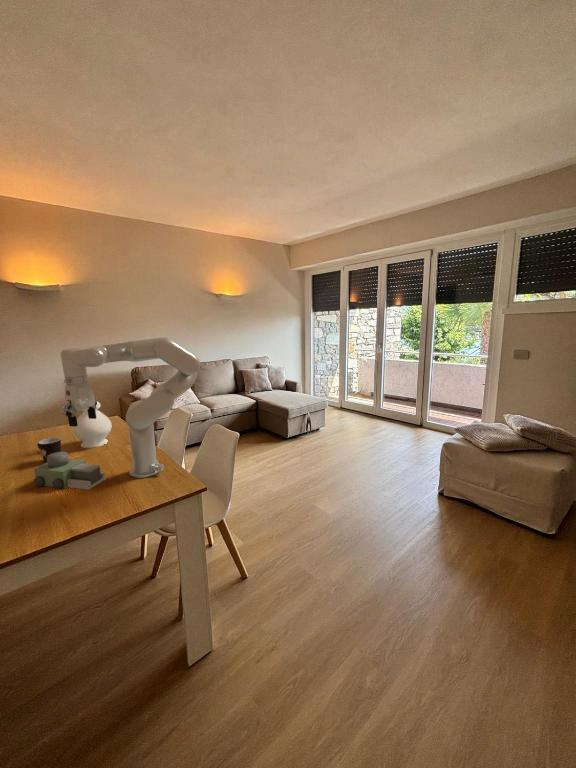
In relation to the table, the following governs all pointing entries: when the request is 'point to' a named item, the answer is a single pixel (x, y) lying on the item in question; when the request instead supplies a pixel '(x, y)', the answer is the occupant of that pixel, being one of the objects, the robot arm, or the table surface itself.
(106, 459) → the table surface
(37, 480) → the green toy tractor
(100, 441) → the decorative vase
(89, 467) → the gray rectangular block
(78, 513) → the table surface
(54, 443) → the coffee mug
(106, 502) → the table surface
